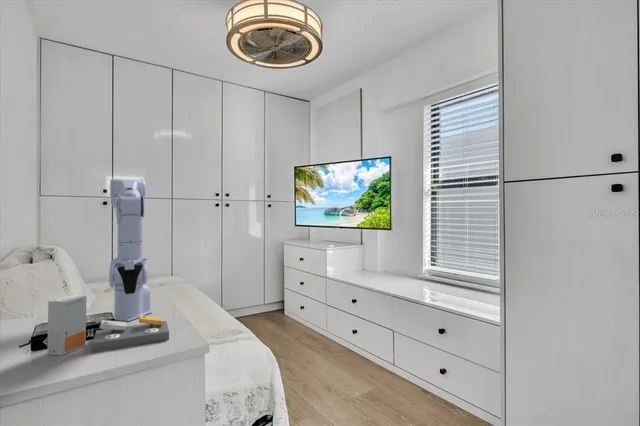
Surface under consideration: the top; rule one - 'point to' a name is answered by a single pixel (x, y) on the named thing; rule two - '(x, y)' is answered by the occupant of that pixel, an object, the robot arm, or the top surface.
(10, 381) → the top surface
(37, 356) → the top surface
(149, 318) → the amber rocker
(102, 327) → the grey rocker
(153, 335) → the power strip
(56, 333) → the skincare box
